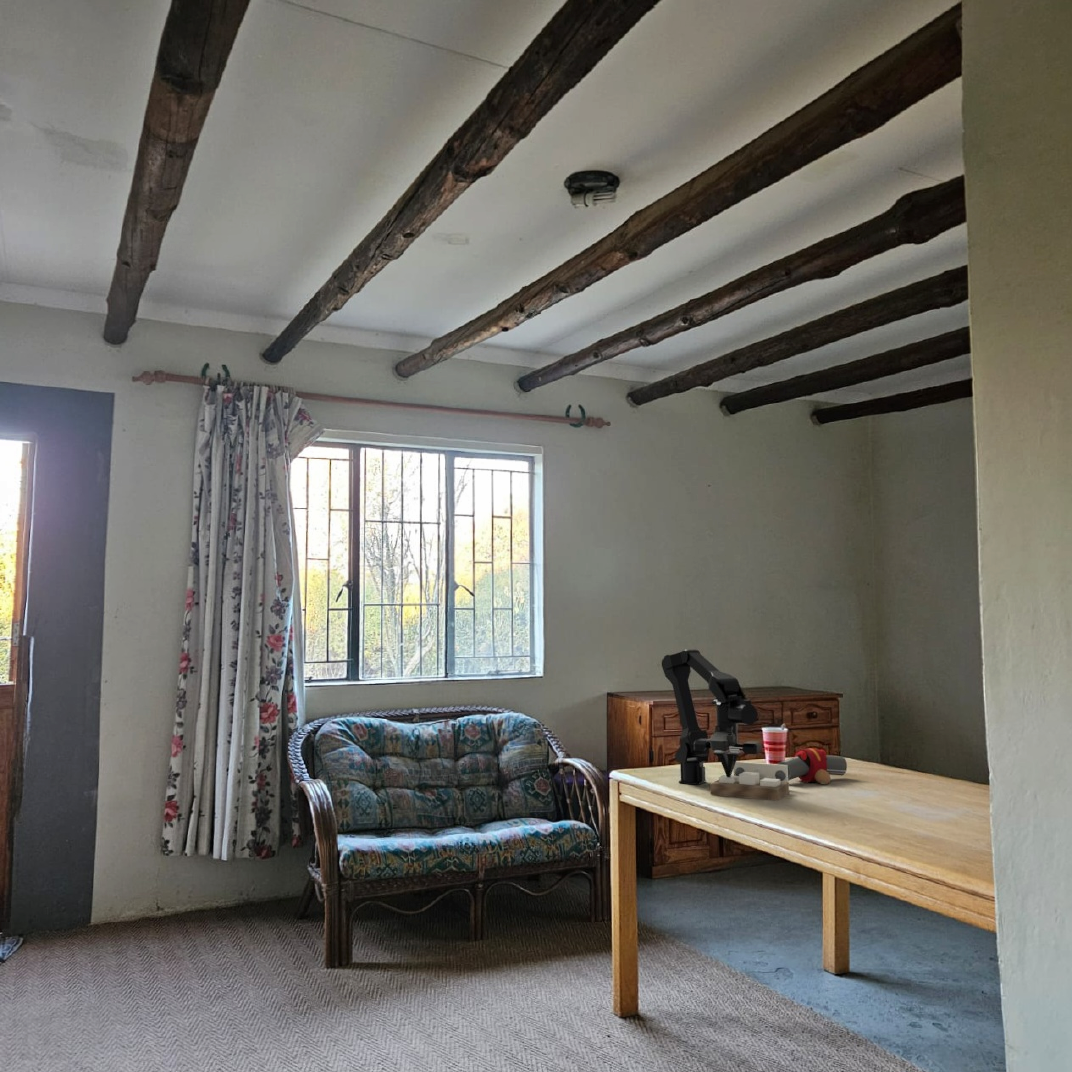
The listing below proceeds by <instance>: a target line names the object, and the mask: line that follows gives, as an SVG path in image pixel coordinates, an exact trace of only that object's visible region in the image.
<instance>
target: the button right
mask: <svg viewBox="0 0 1072 1072" xmlns="http://www.w3.org/2000/svg"><path fill="white" fill-rule="evenodd" d="M779 785H781V783H780V779H769V778H764V779H762V780H760V786H770V787H778V786H779Z"/></svg>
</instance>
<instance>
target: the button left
mask: <svg viewBox="0 0 1072 1072" xmlns="http://www.w3.org/2000/svg"><path fill="white" fill-rule="evenodd" d="M718 780H719V782H721V783H733V784H735V783H737V782H739V776H734V775H731V777H727V776H726V774H723V775H722V776H719V777H718Z"/></svg>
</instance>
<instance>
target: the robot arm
mask: <svg viewBox="0 0 1072 1072" xmlns="http://www.w3.org/2000/svg"><path fill="white" fill-rule="evenodd" d="M661 668H662V671H663V674H664V677H666V679H667V680H668V681H669V682H670V683H671V685H672V689H673V693H674V697H675V698H674V699H675V701H676V706H677V711H678V717H679V720H680V724H681V728H682V730H681V731H682V732H681V734H680V737H679V747H678V749H677V751H676V752H675V754H674V759H675V763H679V765H680V766H679V767H680V780H678V783H679V784H688V785H700V784H703V783H705V782H706V781H707V779H706V767H705V766H704V762H708V760H709V755H710V750H711V751H713V752H712V755H715V756H717V758H718V759H719V761H720V763H721V765H722V768H723V770H724V773H725V775H726V776H727V777H731V776H732V774H733V772H734V769H733V768H734V766H735V763H736V762H738V761H737V760H738V758H739V757H740V756H741V755H743V754H744V753H745V754H746V755H757V754H760V753H763V744H762V743H761V741H752V740H749V741H746V742H743V743H740V739H739V738H738V728H739V724H740V725H741V724H742V725H747V726H751V725H754V724H755V723H756V721H757V719H758V711H757V709H756V706H754V705H753V704H752V700H751V699H747V697H746V694H745V692H744V691H743V689H742V687H741V685H740V683H739V680H738V679H737V678H736V677H735V676H733V675H731V674H728V673H726V672H722V671H721V670H719V669H718V668H717V667H716V666H714V665H713V663H711V662H710V661H709V660H708V659H707V658H705V656H703V655H702V654H701V652H700V650H698V649H684V650H682V651H680V652H677V653H673V654H666V655H664V657H663V658H662V660H661ZM691 668H692V670H694V671H695V673H696V674H698V675H699V676H700V677H701V678H702V679H703V680H704V681H705V682H706V683H707V684H708V686H707V687H708V690H709V691H710V693H712V695H713V697H715V699H713V700H712V702H711V704H712V705H713V706H715V709H716V710H715V712H716V713H715V714H716V725H715V727H714V732H713V734H712V735H711V736H710V738H709V734H708V732H707V730H703V729H701V727H700V726H699V723H698V719H697V718H698V717H697V714H696V710H695V706H694V701H693V697H692V692H691V687H690V683H689V679H690V675H691V673H692V670H691Z"/></svg>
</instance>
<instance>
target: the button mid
mask: <svg viewBox="0 0 1072 1072" xmlns="http://www.w3.org/2000/svg"><path fill="white" fill-rule="evenodd" d="M759 783H760V782H759V773H752V772H743V773H741V774H739V784H746V785H757V784H759Z"/></svg>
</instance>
